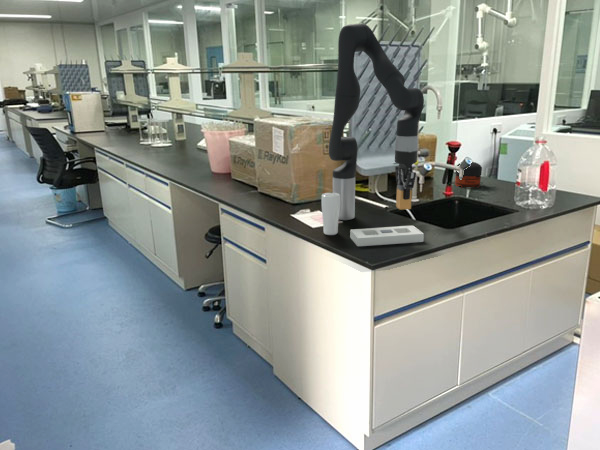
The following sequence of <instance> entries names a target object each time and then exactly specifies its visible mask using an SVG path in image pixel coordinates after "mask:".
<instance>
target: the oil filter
mask: <svg viewBox="0 0 600 450" xmlns="http://www.w3.org/2000/svg"><path fill="white" fill-rule="evenodd" d="M471 162H472V163H471V166H470V167H468V168H467V169H465V170H464V175H463V178H462V180H460V179H459V173H458V172H457V171H456V170H455V173H454V174H455V179H454V186H455V185H456V186H455V187H458V186H461V187H460V188H463V187H477V188H479V186H480V187H481V177H482V171H483V167H482V165H481V164H479V163H477V162H474V161H471ZM460 163H461V162H460ZM460 163H457V164H456V166H459V165H460Z"/></svg>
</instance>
